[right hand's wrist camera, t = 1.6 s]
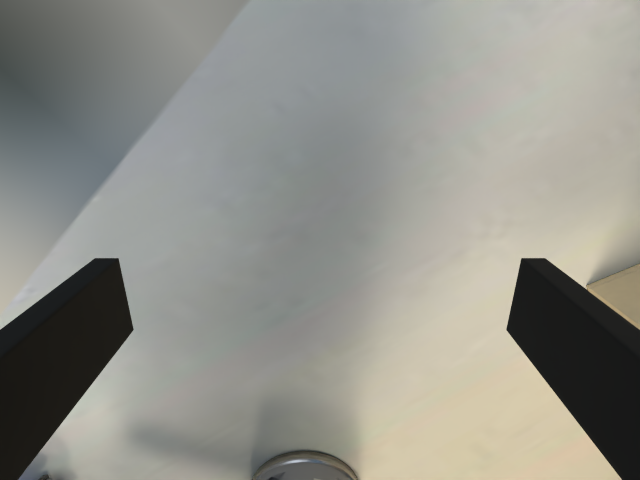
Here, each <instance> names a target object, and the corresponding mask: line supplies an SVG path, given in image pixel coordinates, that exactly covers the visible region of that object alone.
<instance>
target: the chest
mask: <svg viewBox="0 0 640 480" xmlns="http://www.w3.org/2000/svg"><path fill="white" fill-rule="evenodd" d="M587 289H588V291H589V292H590V293H592V294H593V295H594V296H596V297H597V298H598V299H600V300H601V301H602V302H604V303H605V304H606V305H607V306H609V307H610V308H611V309H613V310H614V311H615V312H617V313H618V314H619V315H621V316H622V317H623V318H625V319H626V320H627V321H629V322H630V323H631V324H633V325H634V326H635V327H637V328H638V329H639V330H640V264H638V265H635V266H633V267H630V268H628V269H625V270H623V271H621V272H618V273H616V274H613V275H611V276H608V277H606V278H604V279H601V280H599V281H596V282H594V283H591V284H589V285H587Z"/></svg>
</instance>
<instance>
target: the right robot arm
mask: <svg viewBox="0 0 640 480" xmlns="http://www.w3.org/2000/svg"><path fill="white" fill-rule="evenodd" d="M132 331H133V325H132V320H131V315H130V311H129V306H128V301H127V296H126V292H125V287H124V282H123V277H122V273H121V268H120V263H119V258H95V259H93V260H92V261H91V262H89V263H88V264H87V265H86V266H84V267H83V268H82V269H80V270H79V271H78V272H76V273H75V274H74V275H72V276H71V277H70V278H68V279H67V280H66V281H64V282H63V283H62V284H60V285H59V286H58V287H56V288H55V289H54V290H52V291H51V292H50V293H48V294H47V295H46V296H44V297H43V298H42V299H40V300H39V301H38V302H36V303H35V304H34V305H33V306H31V307H30V308H29V309H27V310H26V311H25V312H23V313H22V314H21V315H19V316H18V317H17V318H15V319H14V320H13V321H11V322H10V323H9V324H7V325H6V326H5V327H3V328H2V329H1V330H0V480H18V479H19V477H20V476H21V475H22V474H23V472H24V471H25V470H26V468H27V467H28V466H29V465H30V463H31V462H32V461H33V459H34V458H35V457H36V455H37V454H38V453H39V452H40V450H41V449H42V448H43V446H44V445H45V444H46V443H47V441H48V440H49V439H50V437H51V436H52V435H53V433H54V432H55V431H56V430H57V428H58V427H59V426H60V424H61V423H62V422H63V421H64V419H65V418H66V417H67V415H68V414H69V413H70V411H71V410H72V409H73V408H74V406H75V405H76V404H77V402H78V401H79V400H80V399H81V397H82V396H83V395H84V393H85V392H86V391H87V389H88V388H89V387H90V386H91V384H92V383H93V382H94V380H95V379H96V378H97V377H98V375H99V374H100V373H101V371H102V370H103V369H104V367H105V366H106V365H107V364H108V362H109V361H110V360H111V358H112V357H113V356H114V355H115V353H116V352H117V351H118V349H119V348H120V347H121V345H122V344H123V343H124V342H125V340H126V339H127V338H128V336H129V335H130V334H131V333H132ZM507 331H508V333H509V334H510V335H511V336H512V338H513V339H514V340H515V342H516V343H517V344H518V345H519V347H520V348H521V349H522V351H523V352H524V353H525V355H526V356H527V357H528V358H529V360H530V361H531V362H532V364H533V365H534V366H535V367H536V369H537V370H538V371H539V373H540V374H541V375H542V377H543V378H544V379H545V380H546V382H547V383H548V384H549V386H550V387H551V388H552V389H553V391H554V392H555V393H556V395H557V396H558V397H559V399H560V400H561V401H562V402H563V404H564V405H565V406H566V408H567V409H568V410H569V411H570V413H571V414H572V415H573V417H574V418H575V419H576V421H577V422H578V423H579V424H580V426H581V427H582V428H583V430H584V431H585V432H586V433H587V435H588V436H589V437H590V439H591V440H592V441H593V443H594V444H595V445H596V446H597V448H598V449H599V450H600V452H601V453H602V454H603V455H604V457H605V458H606V459H607V461H608V462H609V463H610V465H611V466H612V467H613V468H614V470H615V471H616V472H617V474H618V475H619V476H620V477H621V479H622V480H640V330H639V329H638V328H637V327H635V326H634V325H633V324H631V323H630V322H629V321H627V320H626V319H625V318H623V317H622V316H621V315H619V314H618V313H617V312H615V311H614V310H613V309H611V308H610V307H609V306H607V305H606V304H605V303H604V302H602V301H601V300H600V299H598V298H597V297H596V296H594V295H593V294H592V293H590V292H589V291H588V290H586V289H585V288H584V287H582V286H581V285H580V284H578V283H577V282H576V281H574V280H573V279H572V278H570V277H569V276H568V275H566V274H565V273H564V272H562V271H561V270H560V269H558V268H557V267H556V266H554V265H553V264H552V263H551V262H549V261H548V260H547V259H545V258H521V263H520V268H519V273H518V277H517V282H516V287H515V292H514V296H513V301H512V306H511V311H510V315H509V320H508V325H507ZM252 480H357V477H356V476H355V474H354V472H353V471H352V470H351V469H350V468H349V467H348V466H347V465H346V464H345V463H343V462H342V461H340V460H338V459H336V458H334V457H332V456H329V455H326V454H323V453H318V452H310V451H299V452H291V453H286V454H282V455H279V456H277V457H275V458H272V459H271V460H269V461H267V462H266V463H265V464H263V465H262V466H261V467H260V468H259V469H258V470H257V472H256V473H255V475H254V477H253V479H252Z"/></svg>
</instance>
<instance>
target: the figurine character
mask: <svg viewBox="0 0 640 480" xmlns="http://www.w3.org/2000/svg"><path fill="white" fill-rule="evenodd" d="M47 478H48V475H43V476H42V477H41V478H40V479H39V480H46V479H47Z"/></svg>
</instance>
